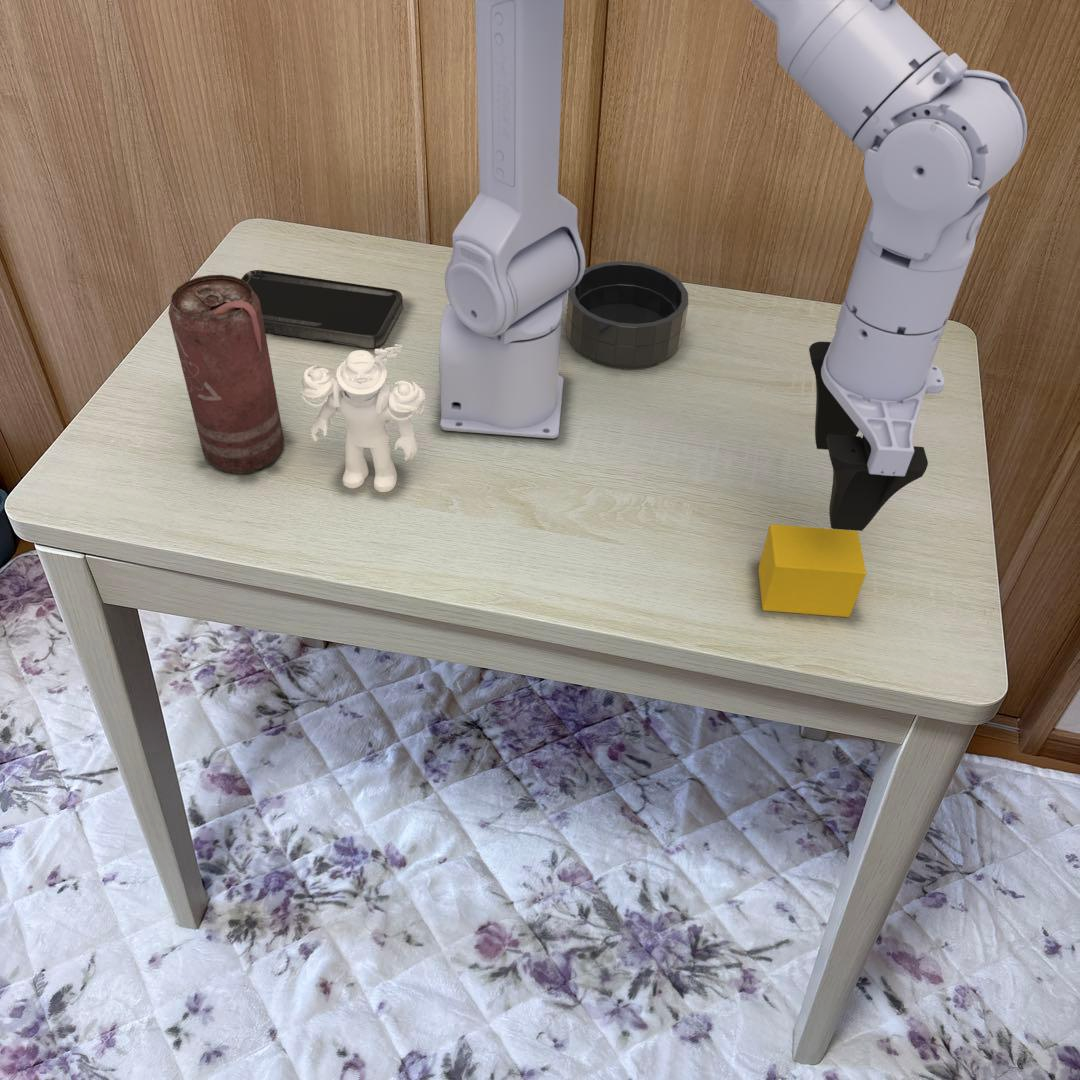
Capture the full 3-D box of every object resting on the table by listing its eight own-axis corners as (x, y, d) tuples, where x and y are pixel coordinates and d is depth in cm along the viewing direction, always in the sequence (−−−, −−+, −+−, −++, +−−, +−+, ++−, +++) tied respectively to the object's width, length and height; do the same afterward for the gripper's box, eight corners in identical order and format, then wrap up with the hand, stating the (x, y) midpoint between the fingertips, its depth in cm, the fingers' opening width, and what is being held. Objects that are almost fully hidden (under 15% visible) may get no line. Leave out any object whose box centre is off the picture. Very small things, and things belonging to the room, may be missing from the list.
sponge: (762, 610, 72) (775, 566, 69) (757, 568, 75) (770, 523, 72) (849, 617, 72) (867, 573, 69) (842, 575, 75) (858, 530, 72)
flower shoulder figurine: (434, 471, 81) (428, 340, 73) (420, 505, 78) (412, 373, 70) (322, 452, 82) (303, 321, 74) (304, 485, 79) (282, 353, 71)
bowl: (562, 366, 91) (565, 322, 88) (568, 300, 98) (571, 257, 95) (682, 375, 91) (690, 331, 88) (680, 308, 98) (686, 265, 95)
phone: (249, 268, 98) (405, 290, 96) (251, 279, 99) (406, 301, 97) (214, 314, 92) (379, 339, 91) (216, 325, 93) (380, 350, 91)
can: (270, 483, 79) (240, 326, 69) (191, 469, 80) (149, 312, 70) (299, 433, 84) (274, 278, 74) (223, 420, 84) (189, 265, 74)
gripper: (998, 390, 54) (920, 570, 64) (941, 245, 64) (881, 419, 74) (860, 380, 54) (803, 561, 64) (825, 237, 64) (781, 412, 74)
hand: (838, 484), depth 69 cm, fingers open, 7 cm apart
